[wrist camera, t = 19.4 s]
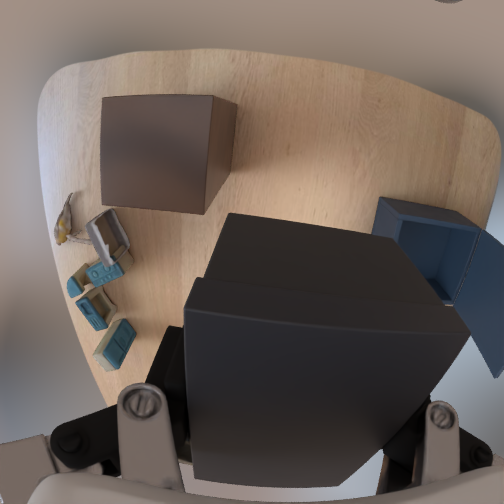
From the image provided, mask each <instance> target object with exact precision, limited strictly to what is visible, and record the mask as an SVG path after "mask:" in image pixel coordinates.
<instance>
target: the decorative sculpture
mask: <svg viewBox="0 0 504 504" xmlns="http://www.w3.org/2000/svg"><path fill="white" fill-rule="evenodd" d="M72 194H73V193H71V194H70V195H69V196H68V199H67V201H66V203H65V205H64V208H63V210H62V212H61V214H60V215H59V217H58V220H57V222H56V225H55V229H54V236H55V238H56V242H57V244H58V245H59V246H60V245H61V243H64V242H65V241H66V240H67V239H68V240H69V241H73V242H78V243H84V244H88V245H90V244H93V246H94V248H95V250H96V252H97V254H98V256H99V258H100V259H101V261H102V263H103V265H104V266H105V267H109V266H111V265H113V264H115V263H116V262H117V261H118V260H119V259H121V257H122V256H123V255H124V254H125V253H126V251H127V250H128V249H129V247H130V243H129V239H128V237H127V233H125V231H124V229H123V227H122V226H121V225H120V224H119V221H118V218H117V216H116V212H114V210H113V209H108V210H106V211H104V212H102V213H101V214H99V215H98V216H96V217H95V218H93V219H92V220H91V221H89V222H88V223H87V224H86V225H85V228H86V231H87V233H88V235H89V237H90V239H91V240H90V239H79V238H76V237H75V236H76V235H77V234H80V232H81V231H82V230H79V231H77V232H75V233H74V234H70V231H71V229H72V227H71V213H70V205H69V201H70V197H71V195H72ZM121 245H124V246H125V250H124V251H123V252H122V253H121V255H120V256H119V257H118V258H117V260H116V261H113V260H112V259H111V258H110V256H111V255H112V254H113V253H114V252H115V251H116V250H117V249H118V248H119V247H120V246H121Z"/></svg>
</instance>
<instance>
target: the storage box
mask: <svg viewBox="0 0 504 504" xmlns="http://www.w3.org/2000/svg"><path fill="white" fill-rule="evenodd" d="M481 230H482V229H481V228H480V227H479V226H477V225H476V224H474V223H473V222H472V221H470V220H469V219H467V218H466V217H464V216H463V215H461V214H460V213H459V212H457V211H453V210H449V209H444V208H439V207H434V206H429V205H424V204H419V203H413V202H408V201H402V200H397V199H391V198H385V197H379V202H378V207H377V211H376V216H375V221H374V225H373V229H372V235H378V236H383V237H389V238H393V239H394V241H395V242H396V243H397V244H398V245H399V247H400V248H401V249H402V250H403V251H404V253H405V254H406V255H407V256H408V258H409V259H410V260H411V261H412V262H413V264H414V265H415V266H416V268H417V269H418V270H419V271H420V273H421V274H422V275H423V277H424V278H425V279H426V280H427V282H428V283H429V284H430V286H431V287H432V288H433V290H434V291H435V292H436V294H437V295H438V297H439V298H440V299H441V301H442V302H443V303H444V304H448V305H453V304H454V302H455V299H456V297H457V295H458V293H459V290H460V288H461V285H462V283H463V281H464V278H465V276H466V273H467V270H468V268H469V265H470V262H471V260H472V257H473V254H474V251H475V248H476V245H477V242H478V239H479V236H480V233H481Z"/></svg>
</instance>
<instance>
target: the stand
mask: <svg viewBox="0 0 504 504" xmlns="http://www.w3.org/2000/svg"><path fill="white" fill-rule="evenodd" d="M236 114H237V104H235V103H232V102H230V101H227V100H224V99H222V98H219V97H216V96H213V95H186V94H157V95H130V96H114V97H103V98H102V110H101V134H100V174H101V199H102V205H107V206H119V207H130V208H141V209H151V210H161V211H171V212H181V213H190V214H199V215H204V214H205V212H206V211H207V209H208V207H209V206H210V204H211V203H212V201H213V199H214V198H215V196H216V195H217V193H218V192H219V190H220V188H221V187H222V185H223V184H224V182H225V181H226V179H227V178H228V176H229V175H230V171H231V161H232V151H233V142H234V132H235V123H236Z"/></svg>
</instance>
